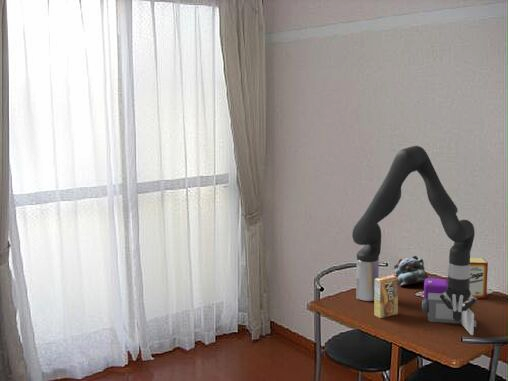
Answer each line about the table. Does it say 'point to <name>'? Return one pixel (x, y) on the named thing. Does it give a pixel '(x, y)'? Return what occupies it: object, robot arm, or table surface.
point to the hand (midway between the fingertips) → (457, 320)
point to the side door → (468, 320)
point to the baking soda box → (478, 277)
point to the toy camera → (434, 286)
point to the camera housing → (438, 309)
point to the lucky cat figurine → (410, 271)
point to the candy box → (386, 296)
